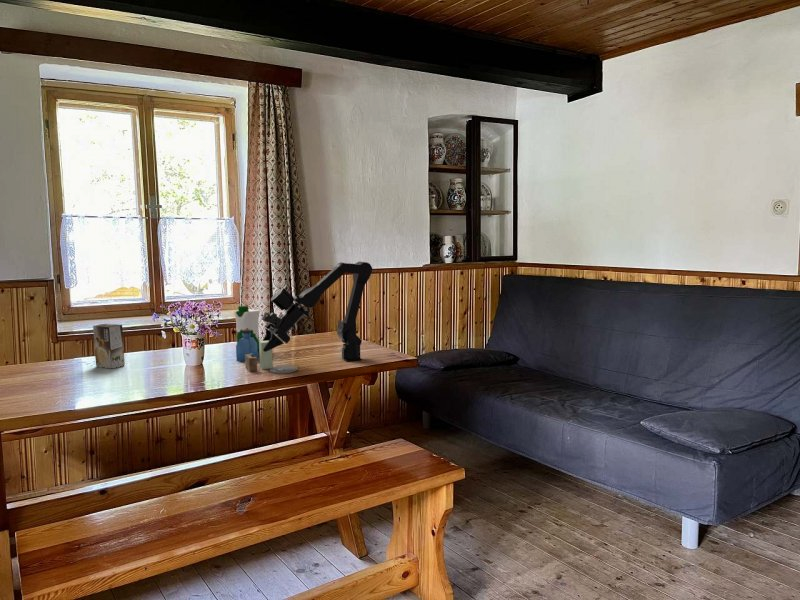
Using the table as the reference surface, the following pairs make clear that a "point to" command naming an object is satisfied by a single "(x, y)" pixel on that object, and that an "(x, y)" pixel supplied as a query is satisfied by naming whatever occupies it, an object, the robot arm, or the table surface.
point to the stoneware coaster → (283, 369)
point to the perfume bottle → (246, 346)
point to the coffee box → (109, 345)
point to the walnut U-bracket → (250, 362)
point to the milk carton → (247, 322)
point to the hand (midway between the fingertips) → (262, 349)
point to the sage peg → (265, 356)
